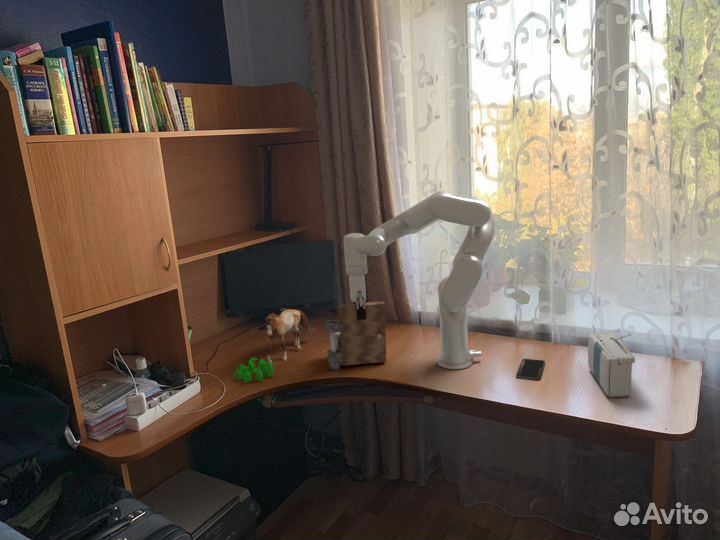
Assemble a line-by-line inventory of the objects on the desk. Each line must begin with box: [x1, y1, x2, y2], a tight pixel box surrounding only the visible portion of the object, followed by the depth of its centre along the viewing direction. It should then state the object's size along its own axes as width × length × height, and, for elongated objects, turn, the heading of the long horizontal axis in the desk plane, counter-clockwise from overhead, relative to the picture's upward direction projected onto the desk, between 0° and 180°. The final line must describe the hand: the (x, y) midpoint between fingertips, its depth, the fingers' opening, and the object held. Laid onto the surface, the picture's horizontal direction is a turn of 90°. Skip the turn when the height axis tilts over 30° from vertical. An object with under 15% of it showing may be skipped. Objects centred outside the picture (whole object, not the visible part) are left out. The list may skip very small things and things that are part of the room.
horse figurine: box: [264, 308, 317, 365], centre depth 223 cm, size 31×8×21 cm, turn 153°
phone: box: [515, 358, 546, 381], centre depth 195 cm, size 8×1×15 cm
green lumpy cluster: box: [234, 356, 276, 384], centre depth 207 cm, size 15×15×7 cm
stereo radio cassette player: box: [587, 333, 636, 398], centre depth 179 cm, size 21×8×20 cm, turn 174°
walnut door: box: [325, 301, 387, 366], centre depth 207 cm, size 21×5×22 cm, turn 96°
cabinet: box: [329, 323, 342, 371], centre depth 212 cm, size 18×13×17 cm
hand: (360, 315), depth 205 cm, fingers open, 9 cm apart
